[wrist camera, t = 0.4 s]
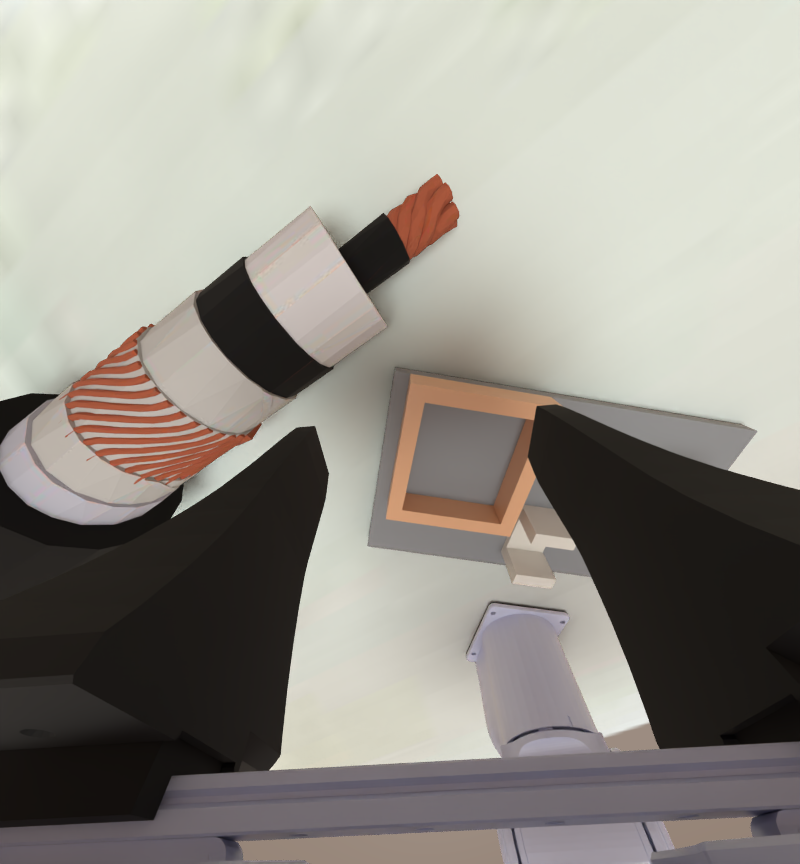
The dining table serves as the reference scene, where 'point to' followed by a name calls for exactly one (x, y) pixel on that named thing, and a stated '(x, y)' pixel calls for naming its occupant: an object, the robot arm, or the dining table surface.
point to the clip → (534, 546)
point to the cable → (192, 388)
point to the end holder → (453, 511)
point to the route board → (491, 454)
